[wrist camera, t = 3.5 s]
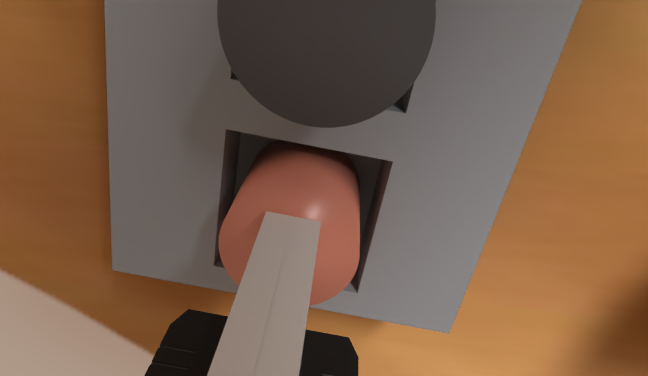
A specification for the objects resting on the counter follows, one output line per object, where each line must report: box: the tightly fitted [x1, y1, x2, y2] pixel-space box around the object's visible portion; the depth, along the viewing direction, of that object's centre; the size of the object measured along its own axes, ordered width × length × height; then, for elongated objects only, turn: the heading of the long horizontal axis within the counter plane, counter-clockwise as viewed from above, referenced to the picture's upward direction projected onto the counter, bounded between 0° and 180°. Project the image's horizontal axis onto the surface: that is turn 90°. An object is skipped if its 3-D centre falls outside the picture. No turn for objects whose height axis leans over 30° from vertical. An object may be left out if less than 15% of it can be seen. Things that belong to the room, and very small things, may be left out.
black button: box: [217, 0, 436, 128], centre depth 11 cm, size 4×4×4 cm
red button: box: [219, 140, 360, 306], centre depth 15 cm, size 4×4×4 cm
